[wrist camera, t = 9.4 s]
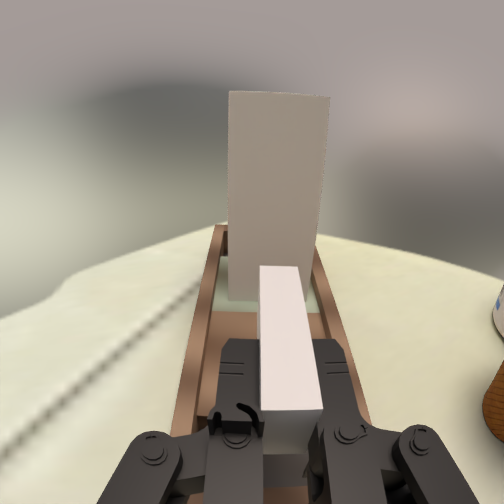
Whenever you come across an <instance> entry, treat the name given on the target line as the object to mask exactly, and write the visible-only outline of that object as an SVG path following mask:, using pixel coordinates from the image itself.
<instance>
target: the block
mask: <svg viewBox="0 0 504 504" xmlns="http://www.w3.org/2000/svg"><path fill="white" fill-rule="evenodd" d="M329 104H330V97H324V96H316V95H306V94H294V93H293V94H292V93H279V92H255V91H229V119H228V120H229V121H228V123H229V124H228V300H229V301H258V290H259V271H260V266H291V267H298V271H299V276H300V281H301V286H302V292H303V297H304V302H306V301H307V295H308V289H309V282H310V276H311V269H312V262H313V255H314V248H315V241H316V233H317V226H318V217H319V209H320V200H321V192H322V182H323V174H324V163H325V153H326V142H327V131H328V118H329Z"/></svg>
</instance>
